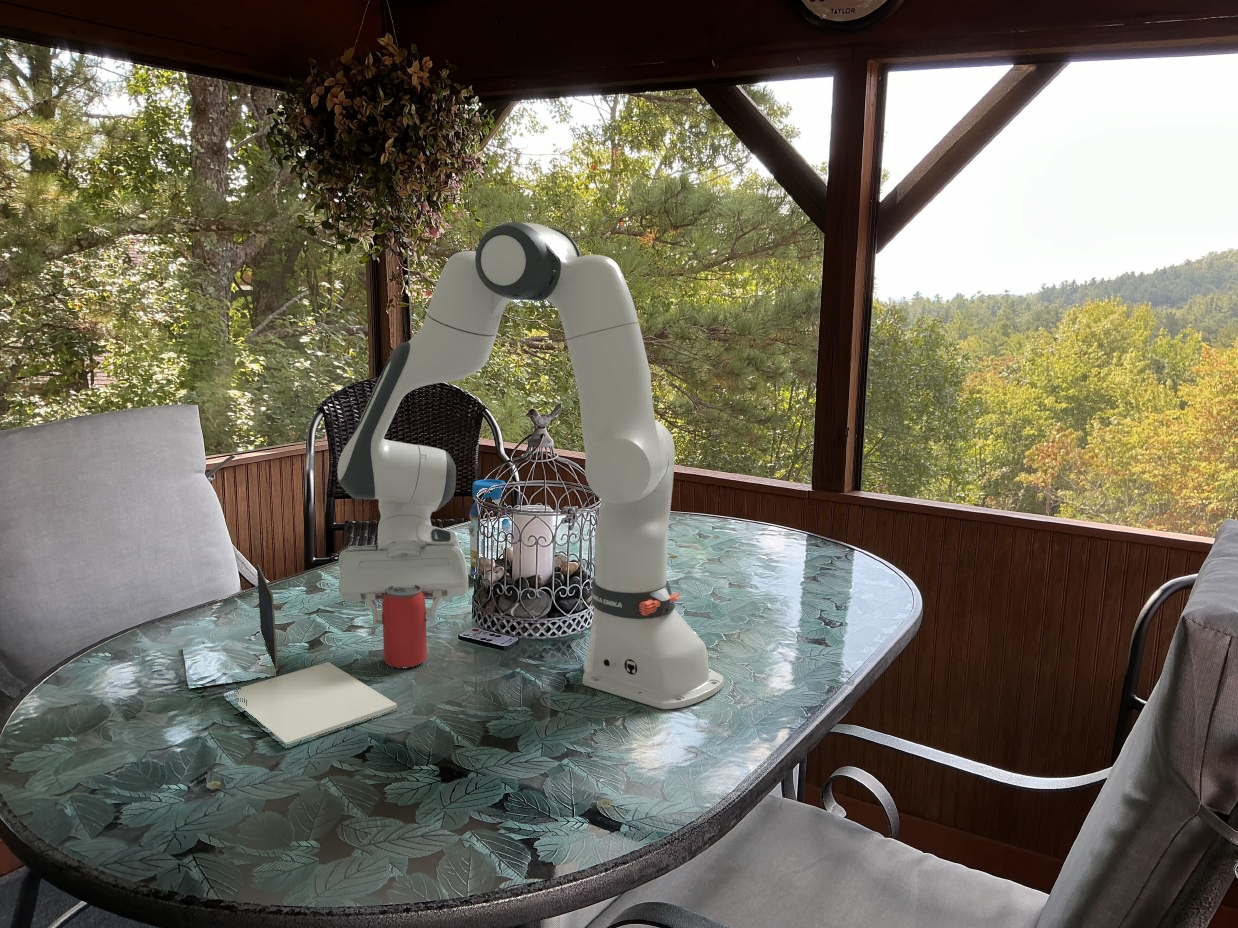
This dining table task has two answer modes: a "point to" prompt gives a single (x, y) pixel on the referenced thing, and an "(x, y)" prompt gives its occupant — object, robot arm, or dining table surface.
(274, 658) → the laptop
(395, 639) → the beer can
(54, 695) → the dining table surface
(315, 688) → the ceramic tile
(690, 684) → the robot arm
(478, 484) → the beverage bottle
